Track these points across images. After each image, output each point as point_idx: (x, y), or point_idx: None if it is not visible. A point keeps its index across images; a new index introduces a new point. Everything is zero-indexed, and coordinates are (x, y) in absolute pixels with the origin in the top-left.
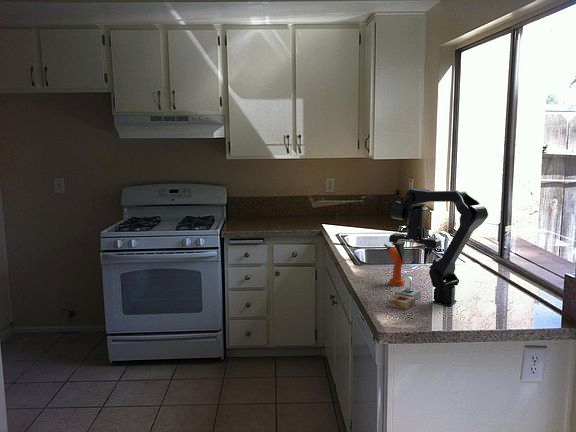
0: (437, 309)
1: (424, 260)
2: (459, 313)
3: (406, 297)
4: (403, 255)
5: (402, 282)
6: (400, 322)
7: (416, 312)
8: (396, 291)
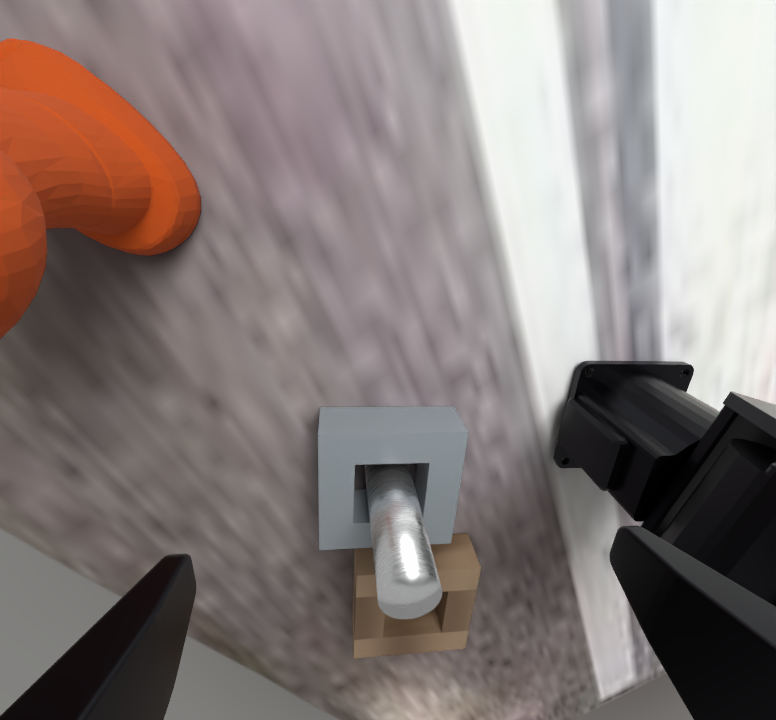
0: (591, 526)
1: (664, 653)
2: None
3: None
4: (141, 674)
5: (185, 209)
6: (480, 709)
7: (506, 608)
8: (324, 539)
